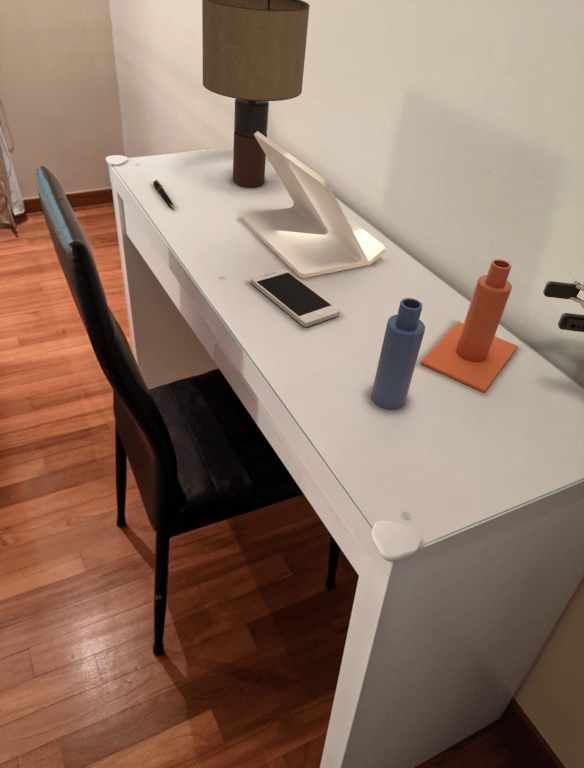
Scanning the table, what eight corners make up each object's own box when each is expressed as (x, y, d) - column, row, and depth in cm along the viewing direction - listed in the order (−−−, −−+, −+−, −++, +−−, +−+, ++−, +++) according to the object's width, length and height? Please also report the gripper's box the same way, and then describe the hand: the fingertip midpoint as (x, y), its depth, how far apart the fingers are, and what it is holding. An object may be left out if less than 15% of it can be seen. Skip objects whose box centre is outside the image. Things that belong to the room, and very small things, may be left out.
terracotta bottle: (492, 360, 91) (525, 271, 81) (464, 363, 89) (495, 273, 80) (477, 342, 94) (507, 254, 84) (450, 345, 93) (478, 256, 83)
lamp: (195, 166, 141) (193, -12, 119) (278, 164, 147) (291, -7, 125) (213, 202, 127) (214, 7, 105) (304, 198, 133) (324, 12, 110)
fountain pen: (177, 211, 122) (176, 204, 121) (171, 211, 122) (171, 204, 121) (157, 183, 132) (156, 177, 131) (151, 184, 132) (151, 177, 131)
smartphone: (304, 327, 94) (305, 322, 93) (249, 282, 103) (249, 277, 102) (340, 315, 97) (341, 310, 97) (283, 272, 106) (284, 267, 106)
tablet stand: (301, 278, 105) (312, 182, 95) (239, 219, 122) (242, 131, 111) (386, 261, 113) (404, 170, 102) (317, 207, 129) (326, 124, 119)
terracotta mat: (516, 348, 95) (517, 345, 94) (484, 393, 85) (485, 390, 85) (457, 324, 99) (458, 321, 98) (420, 363, 89) (420, 361, 89)
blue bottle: (410, 396, 83) (436, 303, 74) (395, 414, 80) (420, 318, 71) (381, 382, 85) (403, 289, 76) (365, 399, 82) (385, 304, 73)
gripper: (661, 269, 88) (549, 256, 88) (704, 323, 77) (577, 308, 77) (638, 313, 93) (532, 300, 93) (676, 370, 82) (555, 355, 82)
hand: (552, 304), depth 85 cm, fingers open, 8 cm apart
